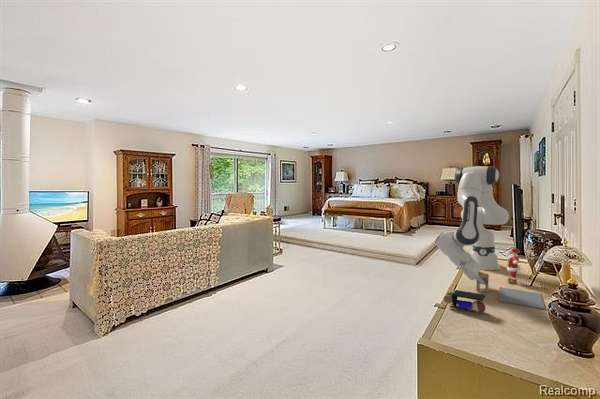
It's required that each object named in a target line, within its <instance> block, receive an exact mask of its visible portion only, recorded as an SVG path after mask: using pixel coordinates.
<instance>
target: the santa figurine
mask: <svg viewBox="0 0 600 399" xmlns="http://www.w3.org/2000/svg"><path fill="white" fill-rule="evenodd" d="M520 253H521V251H520V250H519V249H518V248H515V247H514V248H511V249H509V252H508V256H507V265H506V266H507V267H506V269H507V272H509V275H510V276H511V277H508V278H507V280H508V281H507V283H508V284H510V285H518V283H517V280H518V275H517V273H518V272H520V271H521V266H519V261H520V258H519V256H518V254H520Z"/></svg>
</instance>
